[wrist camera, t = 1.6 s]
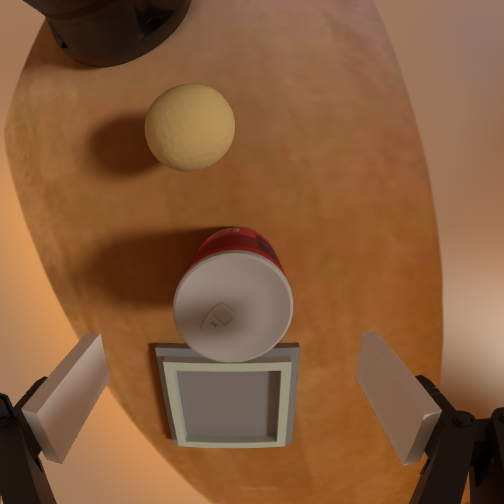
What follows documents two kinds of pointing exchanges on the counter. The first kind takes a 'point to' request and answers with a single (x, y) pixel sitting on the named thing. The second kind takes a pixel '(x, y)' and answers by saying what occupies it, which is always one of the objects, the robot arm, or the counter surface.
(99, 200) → the counter surface
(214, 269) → the canned food
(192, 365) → the coaster
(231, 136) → the light bulb
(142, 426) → the counter surface
